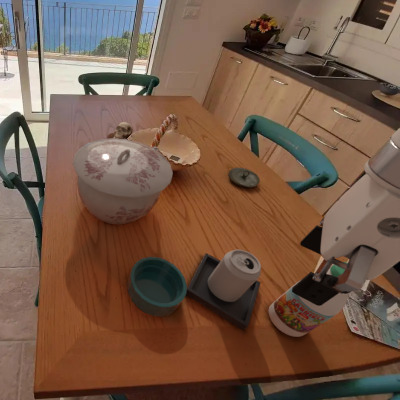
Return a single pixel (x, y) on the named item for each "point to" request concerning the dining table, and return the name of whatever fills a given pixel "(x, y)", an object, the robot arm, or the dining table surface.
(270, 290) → the dining table surface
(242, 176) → the lid
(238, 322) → the tray
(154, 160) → the chamber pot
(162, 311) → the bowl
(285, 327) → the milk bottle
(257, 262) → the can
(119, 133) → the skull
